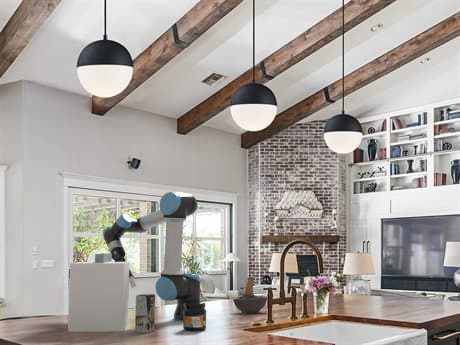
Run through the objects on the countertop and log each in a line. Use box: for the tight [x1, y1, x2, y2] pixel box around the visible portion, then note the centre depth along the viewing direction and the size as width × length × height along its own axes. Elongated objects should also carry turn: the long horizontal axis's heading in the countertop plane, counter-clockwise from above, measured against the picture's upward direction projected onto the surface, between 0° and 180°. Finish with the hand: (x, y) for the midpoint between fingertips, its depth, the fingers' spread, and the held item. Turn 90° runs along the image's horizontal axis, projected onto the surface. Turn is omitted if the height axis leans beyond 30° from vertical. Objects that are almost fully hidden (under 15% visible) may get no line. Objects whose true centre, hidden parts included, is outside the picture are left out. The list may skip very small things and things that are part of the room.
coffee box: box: [134, 293, 156, 334], centre depth 278 cm, size 9×6×16 cm
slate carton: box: [94, 252, 113, 263], centre depth 298 cm, size 4×24×4 cm, turn 2°
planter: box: [232, 276, 268, 314], centre depth 352 cm, size 15×17×20 cm
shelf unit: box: [67, 261, 130, 333], centre depth 289 cm, size 24×21×30 cm
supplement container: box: [182, 301, 207, 332], centre depth 283 cm, size 10×10×12 cm
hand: (129, 280), depth 320 cm, fingers open, 13 cm apart
